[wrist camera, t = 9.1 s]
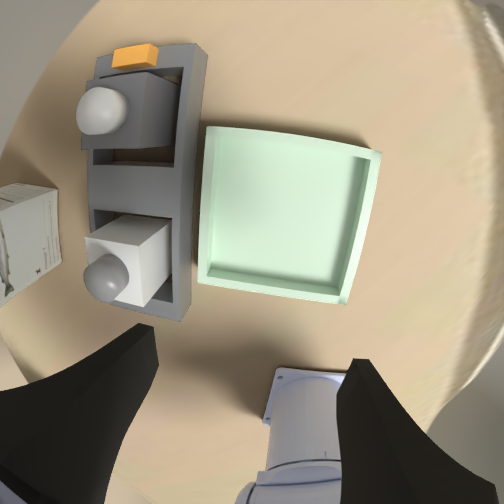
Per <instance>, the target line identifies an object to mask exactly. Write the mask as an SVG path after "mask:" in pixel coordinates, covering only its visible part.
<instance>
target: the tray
mask: <svg viewBox="0 0 504 504" xmlns="http://www.w3.org/2000/svg"><path fill="white" fill-rule="evenodd" d="M381 154H382V152H380V151H376V150H372V149H367V148H363V147H359V146H354V145H350V144H345V143H340V142H335V141H330V140H324V139H319V138H313V137H307V136H301V135H294V134H287V133H280V132H272V131H263V130H254V129H243V128H231V127H216V126H207V129H206V140H205V151H204V163H203V176H202V190H201V206H200V225H199V248H198V283H203V284H208V285H214V286H220V287H226V288H232V289H238V290H244V291H250V292H257V293H263V294H270V295H276V296H283V297H290V298H297V299H304V300H312V301H319V302H327V303H335V304H343V305H346V303H347V300H348V296H349V293H350V290H351V286H352V283H353V280H354V276H355V273H356V269H357V266H358V262H359V258H360V254H361V251H362V247H363V243H364V239H365V235H366V230H367V226H368V222H369V217H370V213H371V208H372V204H373V199H374V194H375V189H376V183H377V178H378V172H379V166H380V160H381Z"/></svg>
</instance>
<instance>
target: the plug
mask: <svg viewBox="0 0 504 504" xmlns="http://www.w3.org/2000/svg"><path fill="white" fill-rule="evenodd" d="M180 93H181V86H179V85H177V84H174V83H172V82H170V81H168V80H165V79H163V78H161V77H158V76H156V75H153V74H151V73H148V72H142V73H134V74H126V75H119V76H113V77H107V78H102V79H96V80H91V81H87V85H86V93H85V94H84V95H83V96H82V98H81V99H80V101H79V103H78V106H77V110H76V122H77V125H78V127H79V129H80V130H81V131H82V139H81V150H83V149H140V148H150V147H160V146H173V145H175V144H176V132H177V121H178V111H179V102H180Z"/></svg>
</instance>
